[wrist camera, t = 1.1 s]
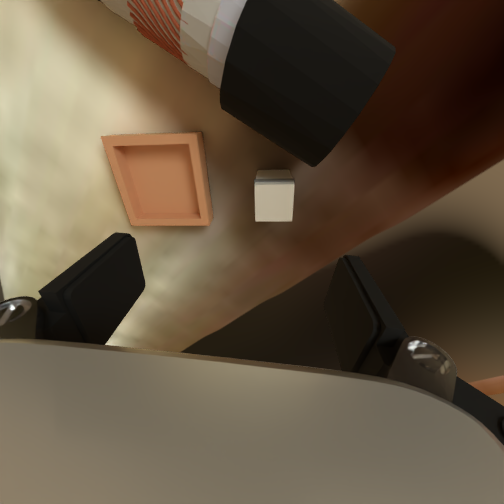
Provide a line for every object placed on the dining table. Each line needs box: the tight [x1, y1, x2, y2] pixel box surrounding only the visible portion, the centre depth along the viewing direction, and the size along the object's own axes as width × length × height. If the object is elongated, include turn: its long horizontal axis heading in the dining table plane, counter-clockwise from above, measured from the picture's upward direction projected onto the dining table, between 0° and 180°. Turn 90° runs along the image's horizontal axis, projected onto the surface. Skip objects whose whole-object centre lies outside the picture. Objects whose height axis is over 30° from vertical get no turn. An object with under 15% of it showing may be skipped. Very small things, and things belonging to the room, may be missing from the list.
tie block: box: [254, 170, 295, 221], centre depth 26 cm, size 4×4×7 cm
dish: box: [101, 132, 213, 226], centre depth 29 cm, size 11×11×3 cm
